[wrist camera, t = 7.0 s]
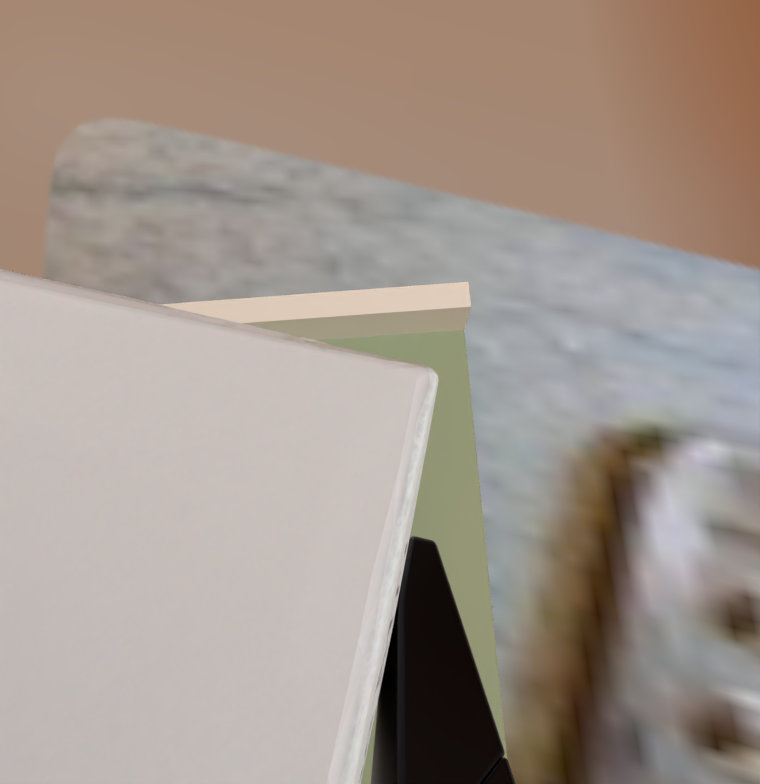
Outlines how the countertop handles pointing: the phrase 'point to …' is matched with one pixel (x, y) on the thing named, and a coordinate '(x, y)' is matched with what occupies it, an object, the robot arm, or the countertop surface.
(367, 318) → the pad
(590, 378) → the countertop surface
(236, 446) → the skincare box
